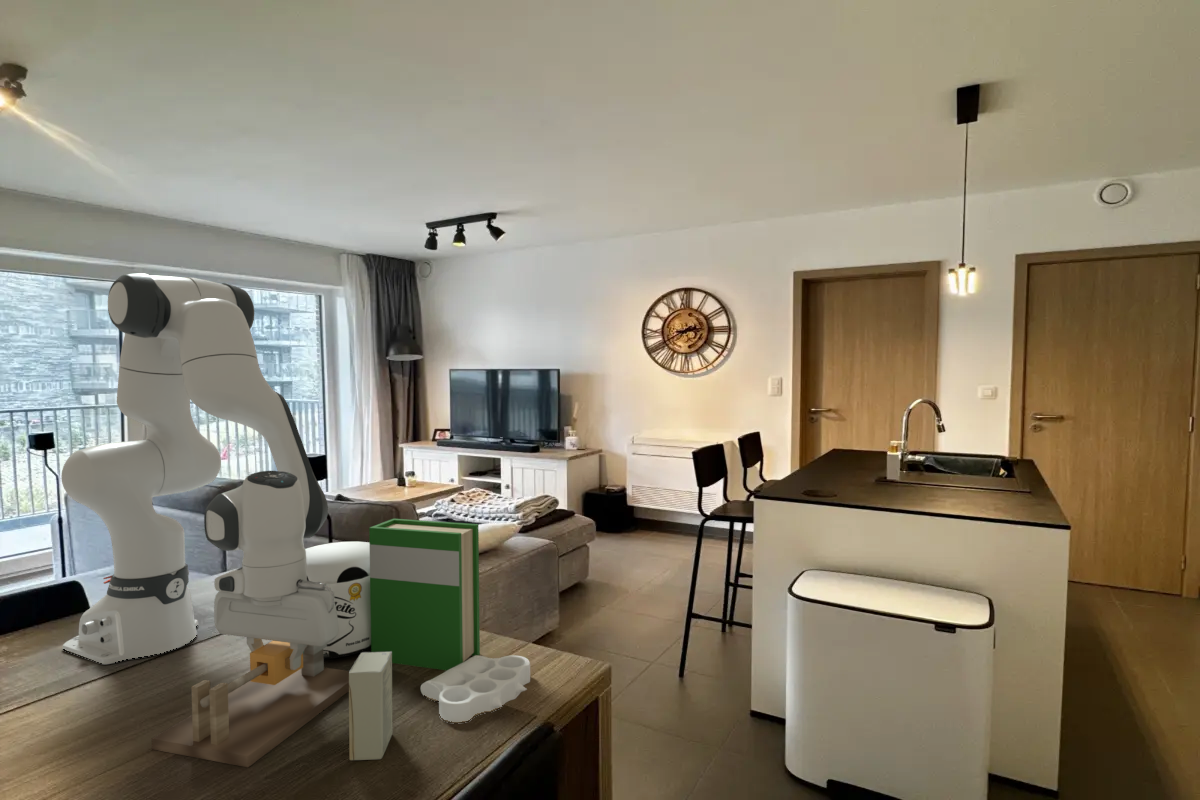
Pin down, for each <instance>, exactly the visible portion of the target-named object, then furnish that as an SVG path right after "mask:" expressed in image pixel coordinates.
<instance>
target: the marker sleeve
mask: <svg viewBox="0 0 1200 800" xmlns="http://www.w3.org/2000/svg"><path fill="white" fill-rule="evenodd" d="M292 652H293V649H290V643H288V642H280V641H273V640H270V642H268V643H266V644H264V646H262V647H260V648H258V649H256V650H255V651H253V652H251V651H250V652H249V663H250V664H249V665H250V671H252V670H253V669H255V668H257V667H259V666H260V665H262V664H264V663H268V671H266V672H264V673H263V674H261V675H259V676H257V677H256V678H254V679H252V680H251V682H257V683H264V684H271V685H276V684H277V683H279V682H281V681H282V680H284V679H285V678H287V677H289V676H290V675H292V674H293V673H295V672H297V671H298V670H300V669H301V668H303V653H302V655H301V666H300V667H299V668H297V669H296V670H290V669H286V668H285V665H286V664H285V658H287V657H289V656H291V654H292ZM250 671H249V672H250Z"/></svg>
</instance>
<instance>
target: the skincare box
mask: <svg viewBox="0 0 1200 800" xmlns="http://www.w3.org/2000/svg"><path fill="white" fill-rule="evenodd" d="M349 671H350V672H349V692H348V727H349V728H348V737H349V738H348V739H349V741H348V743H349V745H348V749H349V753H348V754H349V761H367V760H368V761H370V760H381V759H383V757H384V754H385V752H386V750H387V748H388V746H389V743H390V740H391V739H392V735H393V663H392V652H371V651H362V652H360V654H359V655H358V657H357V658H356V660H355V661H354V663H353V665H352V666H351V668H350V670H349Z"/></svg>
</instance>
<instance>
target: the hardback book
mask: <svg viewBox="0 0 1200 800" xmlns="http://www.w3.org/2000/svg"><path fill="white" fill-rule="evenodd" d="M368 530H369V531H368V533H369V536H368V537H369V544H370V601H371V651H370V652H392V664H397V665H405V666H411V667H419V668H426V669H433V670H439V671H440V670H442V671H447V670H449V669H451V668H453V667H455V666H457V665H459V664H461V663H463V662H465V661H467V660H468V659H469V658H470V657H471V656H472V657H473V656H475V655H479V656H480V655H481V647H480V645H481V642H480V633H481V632H480V631H481V630H480V626H481V625H480V561H479V560H480V555H479V553H480V550H479V539H480V538H479V537H480V536H479V524H477V523H466V522H465V523H463V522H451V521H435V520H421V519H420V520H419V519H405V518H404V519H403V518H391V519H388V520H386V521H383V522H381V523H378V524H376V525H373V526H369V528H368Z"/></svg>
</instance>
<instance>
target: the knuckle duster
mask: <svg viewBox="0 0 1200 800" xmlns="http://www.w3.org/2000/svg"><path fill="white" fill-rule="evenodd" d="M529 683H531V662H530V660H529V659H528V658H526V657H525V656H522V655H504V656H501V657H496V658H494V657H493V658H491V657H487V656H485V655H480V654H479V655H475V656H472V657H471V656H470V657H468V658H467V659H466V660H465V661H464V662H463V663H461V664H459V665H457V666H455V667H453V668H451V669H449V670H445V671H444V672H443V673H440V674H439V675H436V676H434V677H433V678H431V679H429V680H426V681H425V682H423V683H421V685H420V692H421V694H422V696H424V695H425V696H427V697H429V698H433V699H436V700H438V701H439V702H438V714H440V716H441V718H443V719H444V720H448V721H450V722H451V721H452V722H462V721H468V720H470V719H471V718H472V717H473V716H474V715H475V714H477V713H481V712H484V711H491V710H493V709H495V708H499V707H502V708H503V706H504V705H505V704H506V703H508V702H509V701H513V700H515V699H517V697H518V696H519V695H520V694H521V693H522V692H525V691H527V690H528V689H527V687H525V685H526V684H529ZM502 705H503V706H502ZM440 716H439V717H440ZM441 718H440V719H441ZM471 720H472V719H471ZM471 720H470V721H471Z"/></svg>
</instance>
